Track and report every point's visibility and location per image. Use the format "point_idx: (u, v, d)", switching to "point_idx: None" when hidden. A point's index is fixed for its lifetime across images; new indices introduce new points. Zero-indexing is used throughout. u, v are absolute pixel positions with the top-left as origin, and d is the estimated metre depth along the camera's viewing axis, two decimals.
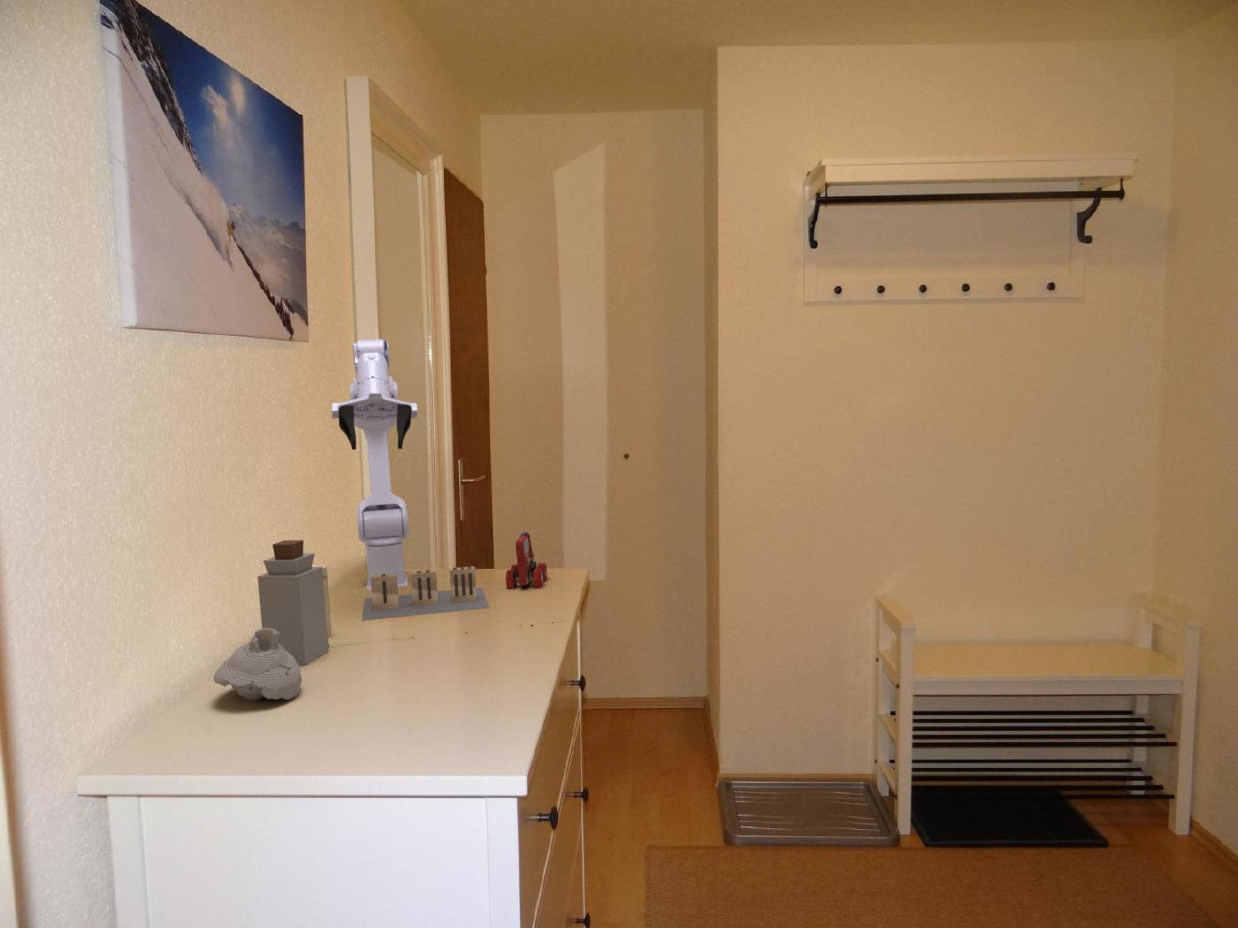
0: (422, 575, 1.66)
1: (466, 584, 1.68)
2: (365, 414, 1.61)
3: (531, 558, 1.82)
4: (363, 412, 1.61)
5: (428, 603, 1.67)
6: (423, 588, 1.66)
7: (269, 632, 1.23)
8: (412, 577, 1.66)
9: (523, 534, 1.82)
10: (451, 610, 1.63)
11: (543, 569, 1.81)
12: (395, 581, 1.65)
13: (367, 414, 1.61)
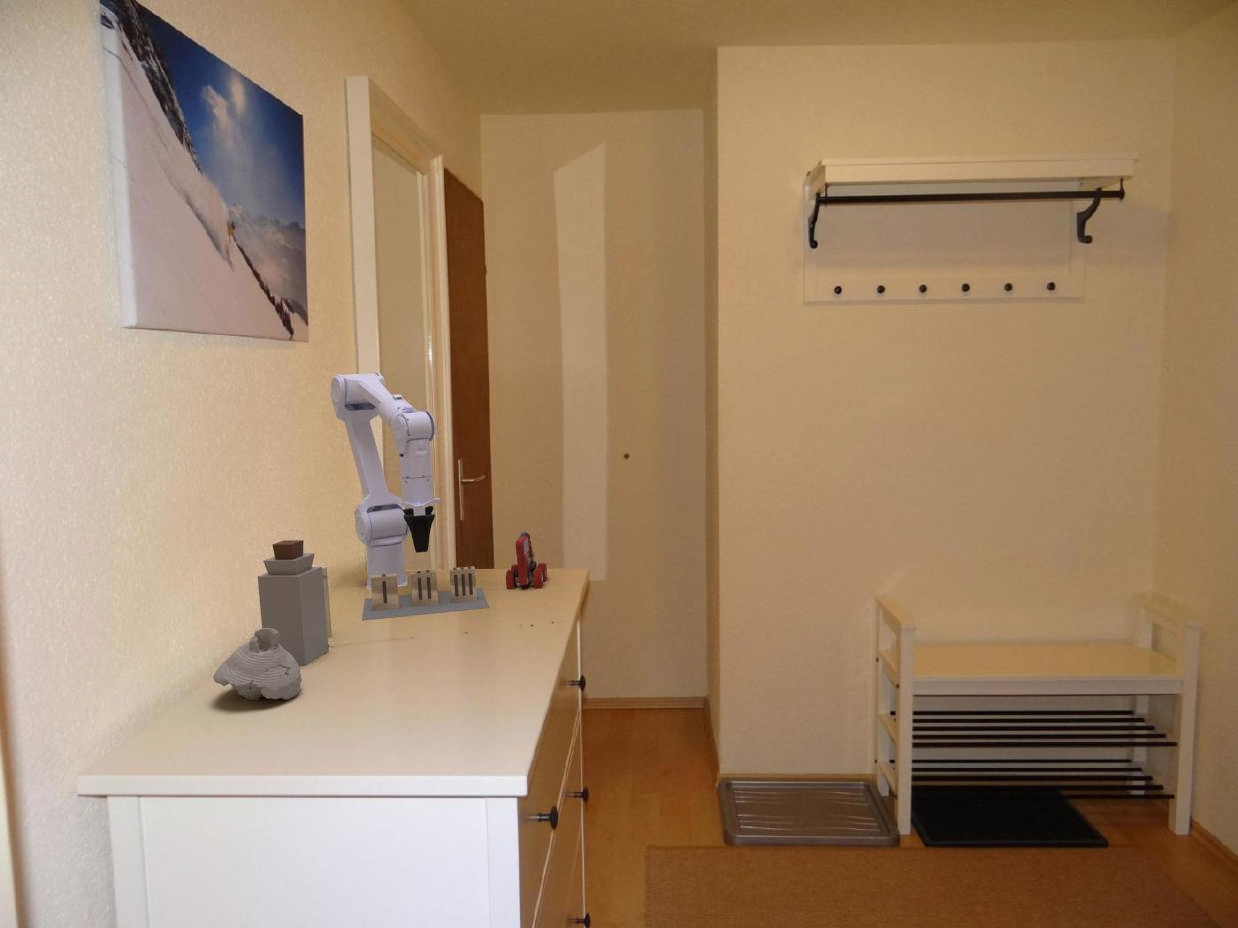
0: (422, 575, 1.66)
1: (466, 584, 1.68)
2: None
3: (531, 558, 1.82)
4: None
5: (428, 603, 1.67)
6: (423, 588, 1.66)
7: (269, 632, 1.24)
8: (412, 577, 1.66)
9: (523, 534, 1.82)
10: (451, 610, 1.63)
11: (543, 569, 1.81)
12: (395, 581, 1.65)
13: None
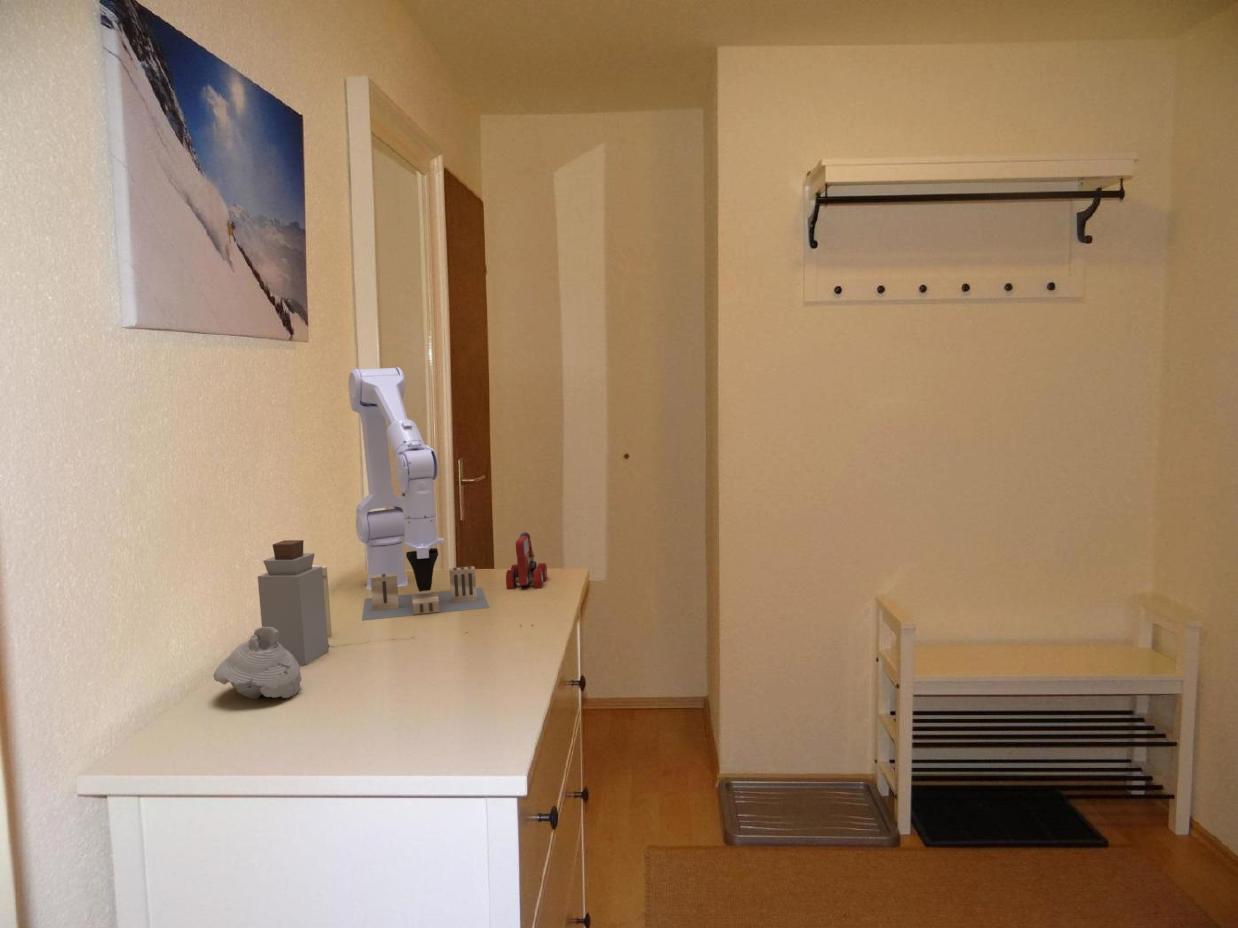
0: None
1: (466, 584, 1.68)
2: None
3: (531, 558, 1.82)
4: None
5: None
6: None
7: (269, 631, 1.24)
8: None
9: (523, 534, 1.82)
10: (451, 610, 1.63)
11: (543, 569, 1.81)
12: (395, 581, 1.65)
13: None
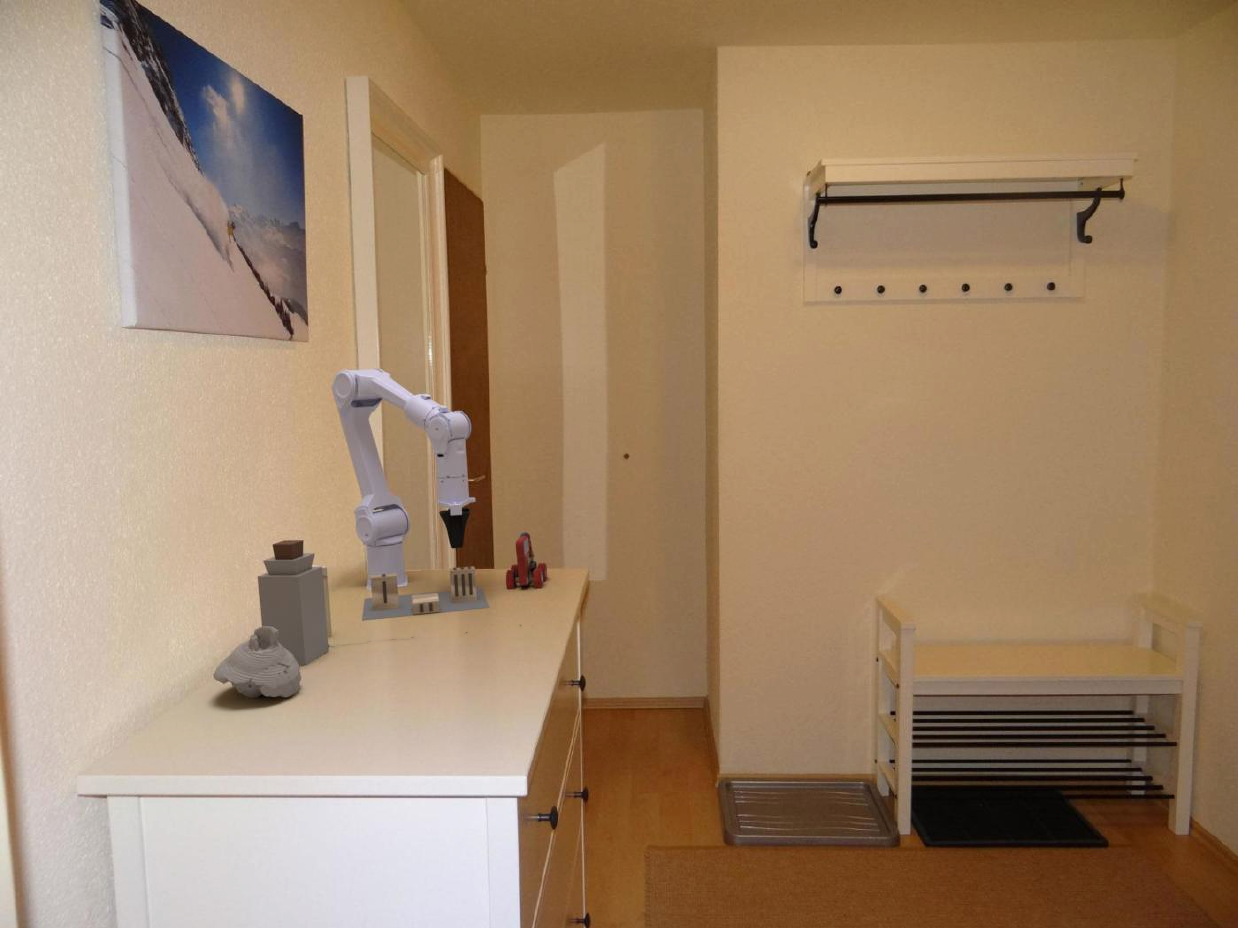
0: None
1: (466, 584, 1.68)
2: None
3: (531, 558, 1.82)
4: None
5: None
6: None
7: (268, 630, 1.25)
8: None
9: (523, 534, 1.82)
10: (451, 610, 1.63)
11: (543, 569, 1.81)
12: (395, 581, 1.65)
13: None
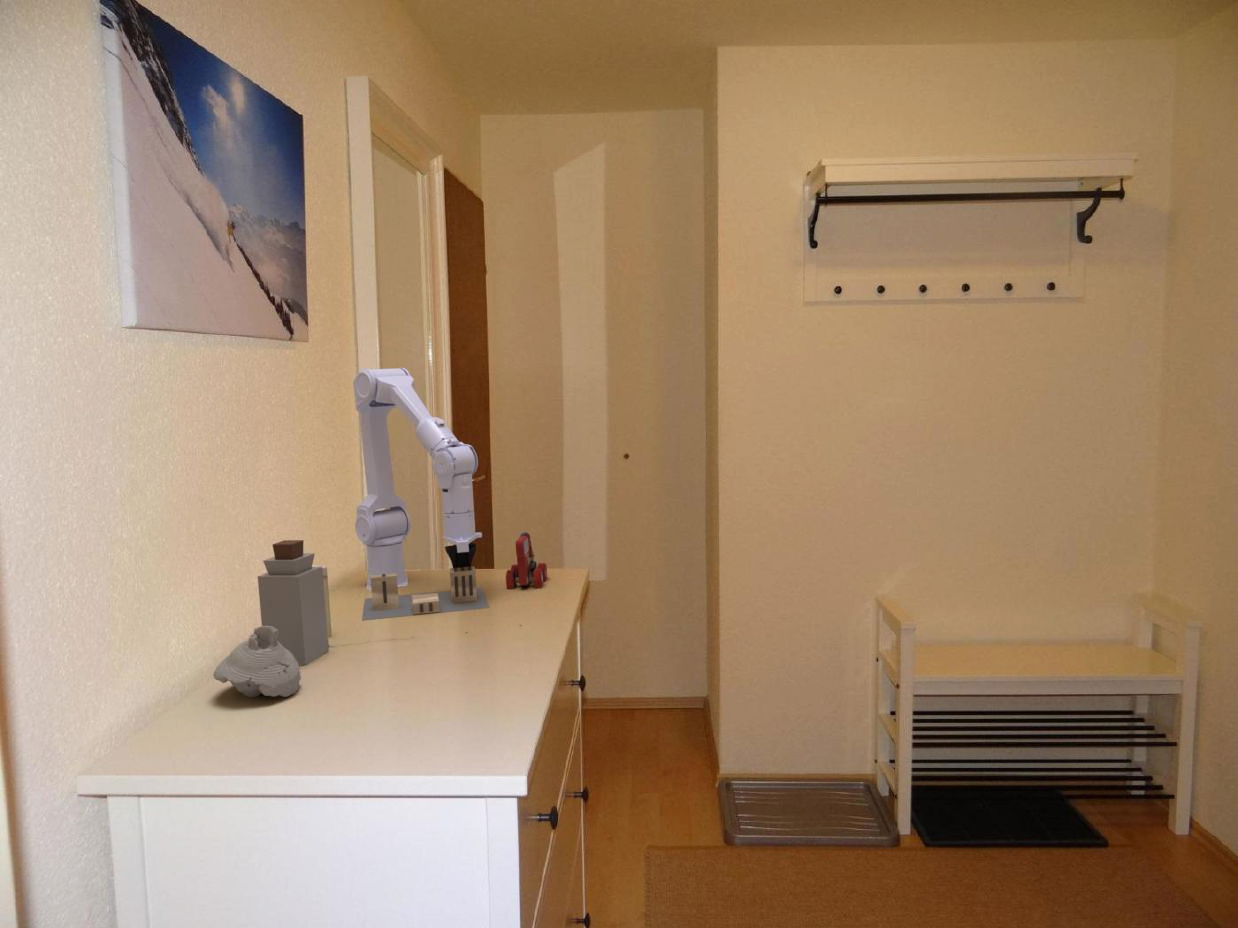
0: None
1: (466, 585, 1.68)
2: None
3: (531, 558, 1.82)
4: None
5: None
6: None
7: (268, 630, 1.25)
8: None
9: (523, 534, 1.82)
10: (451, 610, 1.63)
11: (543, 569, 1.81)
12: (395, 581, 1.65)
13: None
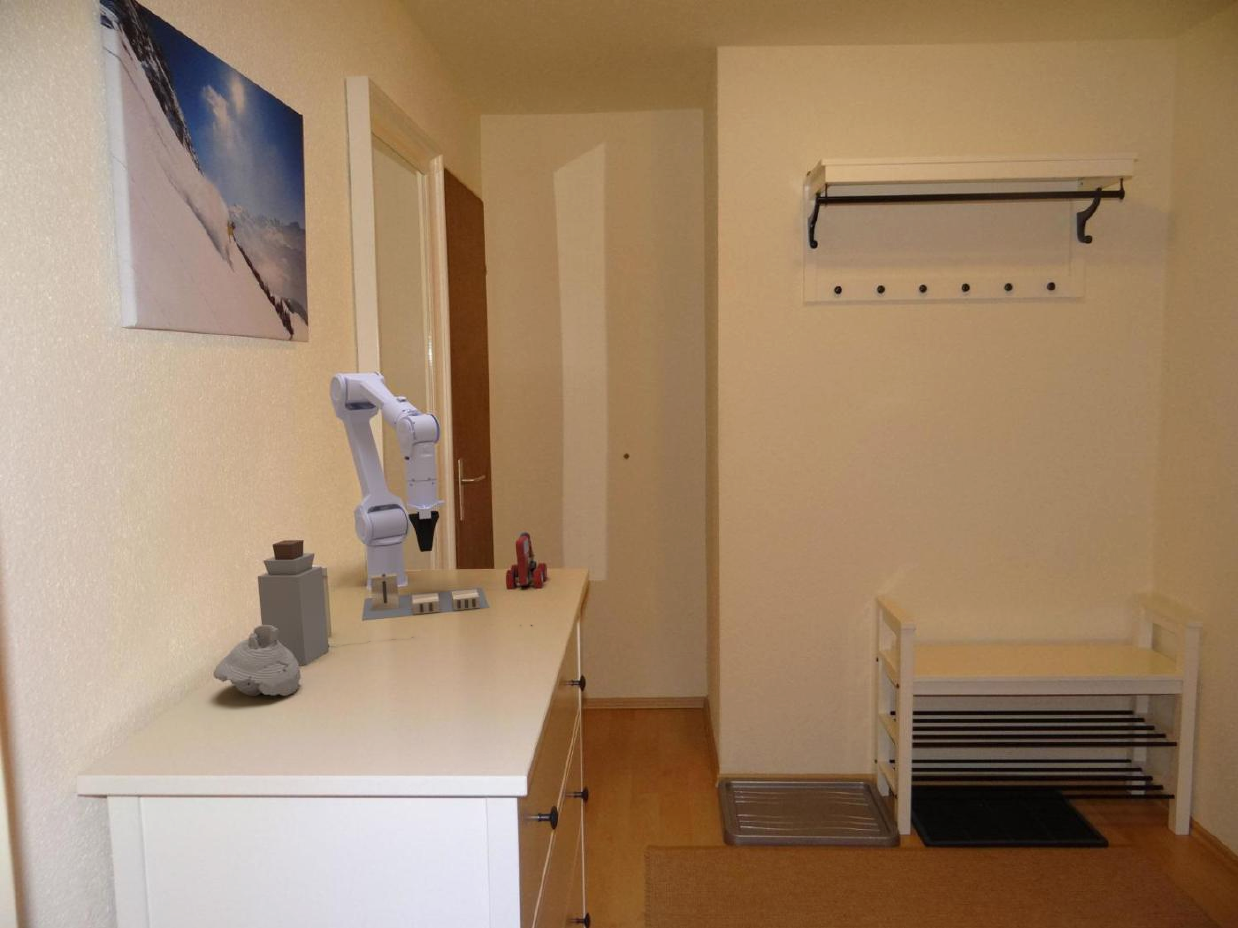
0: None
1: None
2: None
3: (531, 558, 1.82)
4: None
5: None
6: None
7: (268, 629, 1.25)
8: None
9: (523, 534, 1.82)
10: (451, 610, 1.63)
11: (543, 569, 1.81)
12: (395, 581, 1.65)
13: None
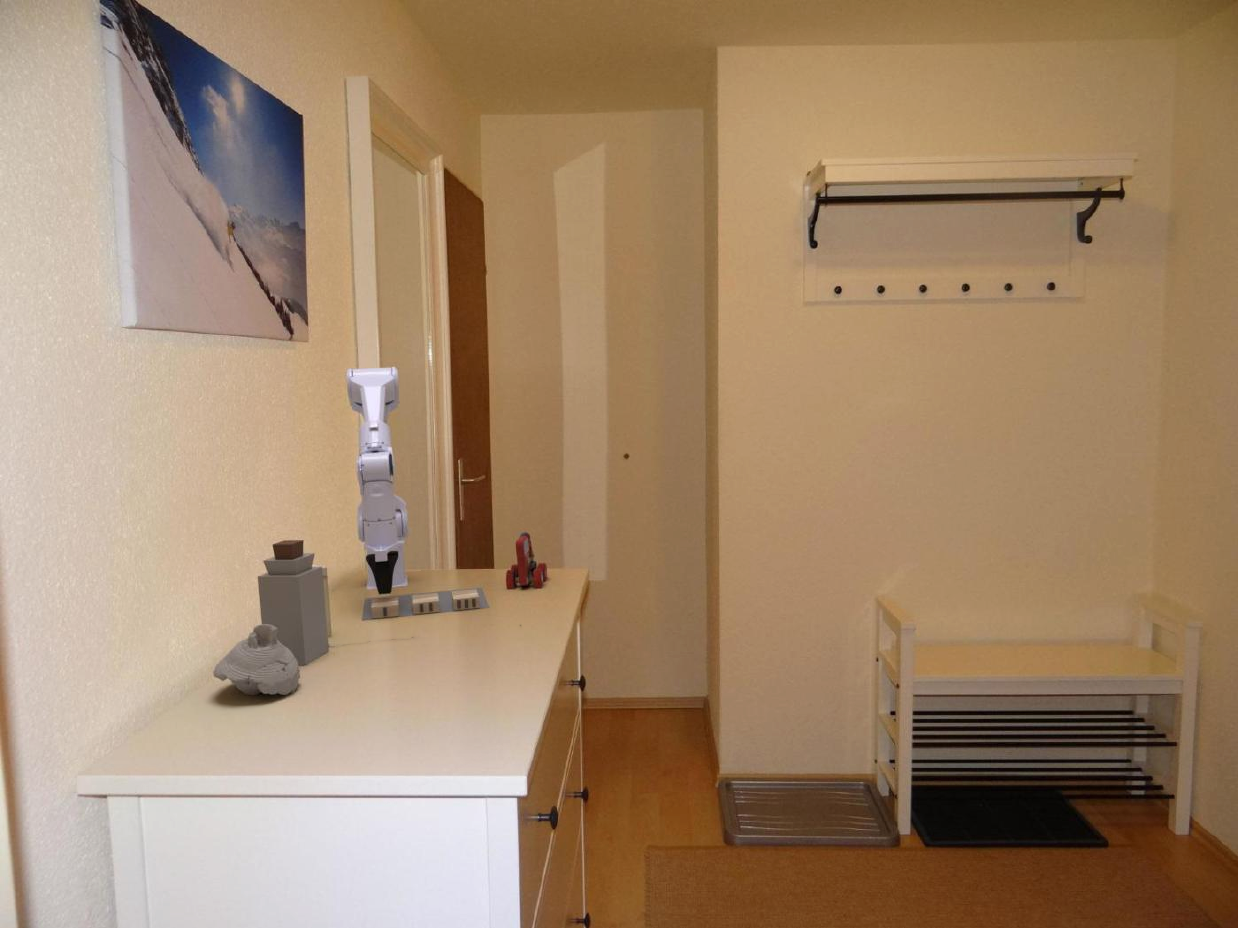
0: None
1: None
2: None
3: (531, 558, 1.82)
4: None
5: None
6: None
7: (267, 628, 1.26)
8: None
9: (523, 534, 1.82)
10: (451, 610, 1.63)
11: (543, 569, 1.81)
12: None
13: None
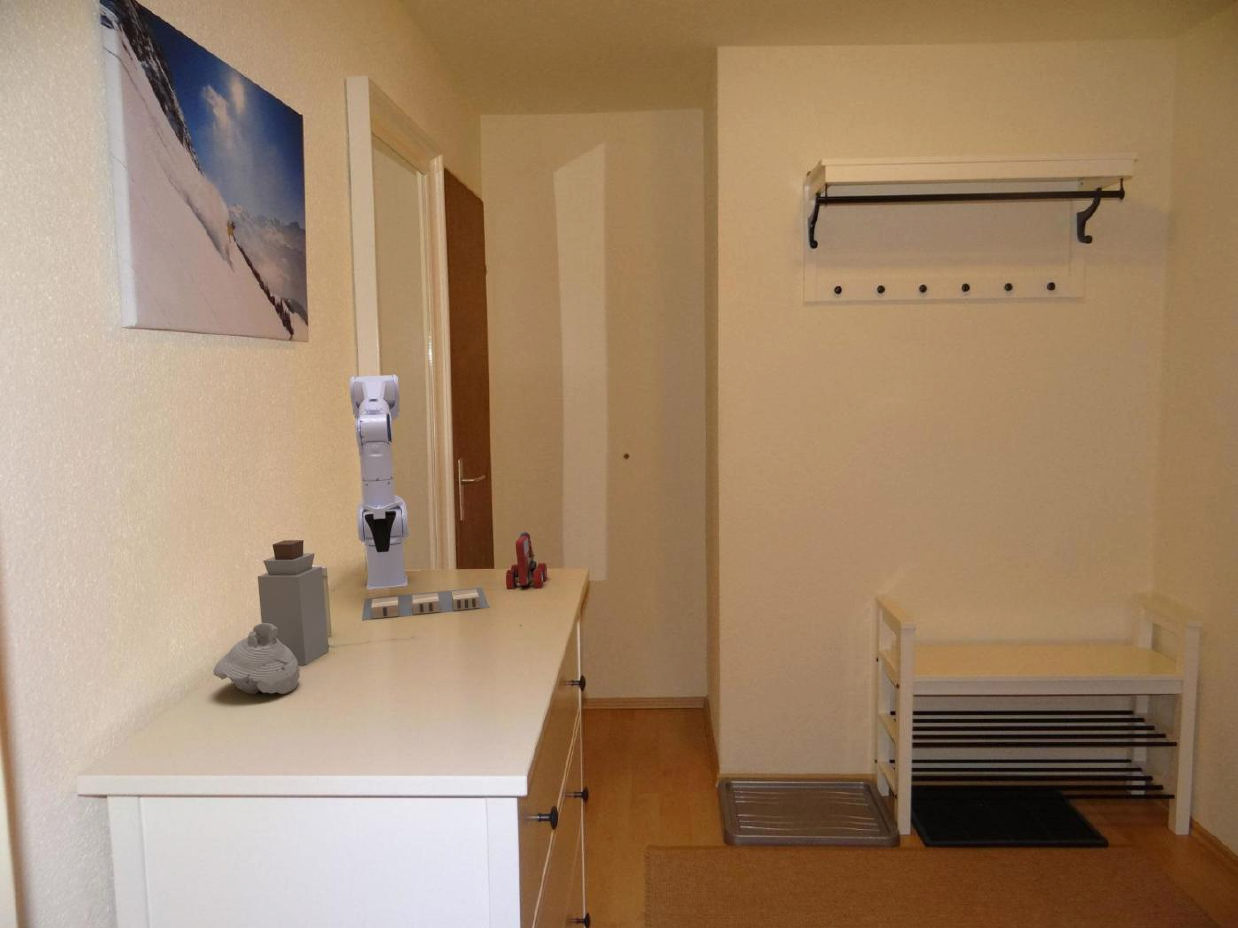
0: None
1: None
2: None
3: (531, 558, 1.82)
4: None
5: None
6: None
7: (267, 627, 1.26)
8: None
9: (523, 534, 1.82)
10: (451, 610, 1.63)
11: (543, 569, 1.81)
12: None
13: None
